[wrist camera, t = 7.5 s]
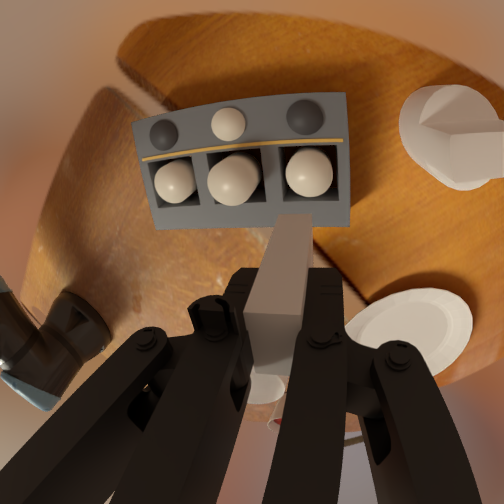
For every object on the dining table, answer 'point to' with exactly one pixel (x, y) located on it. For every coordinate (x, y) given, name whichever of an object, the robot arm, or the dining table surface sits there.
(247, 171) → the button
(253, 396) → the cup
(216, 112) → the board
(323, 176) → the button
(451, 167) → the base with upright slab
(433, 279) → the dining table surface
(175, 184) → the button
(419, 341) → the plate
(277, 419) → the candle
